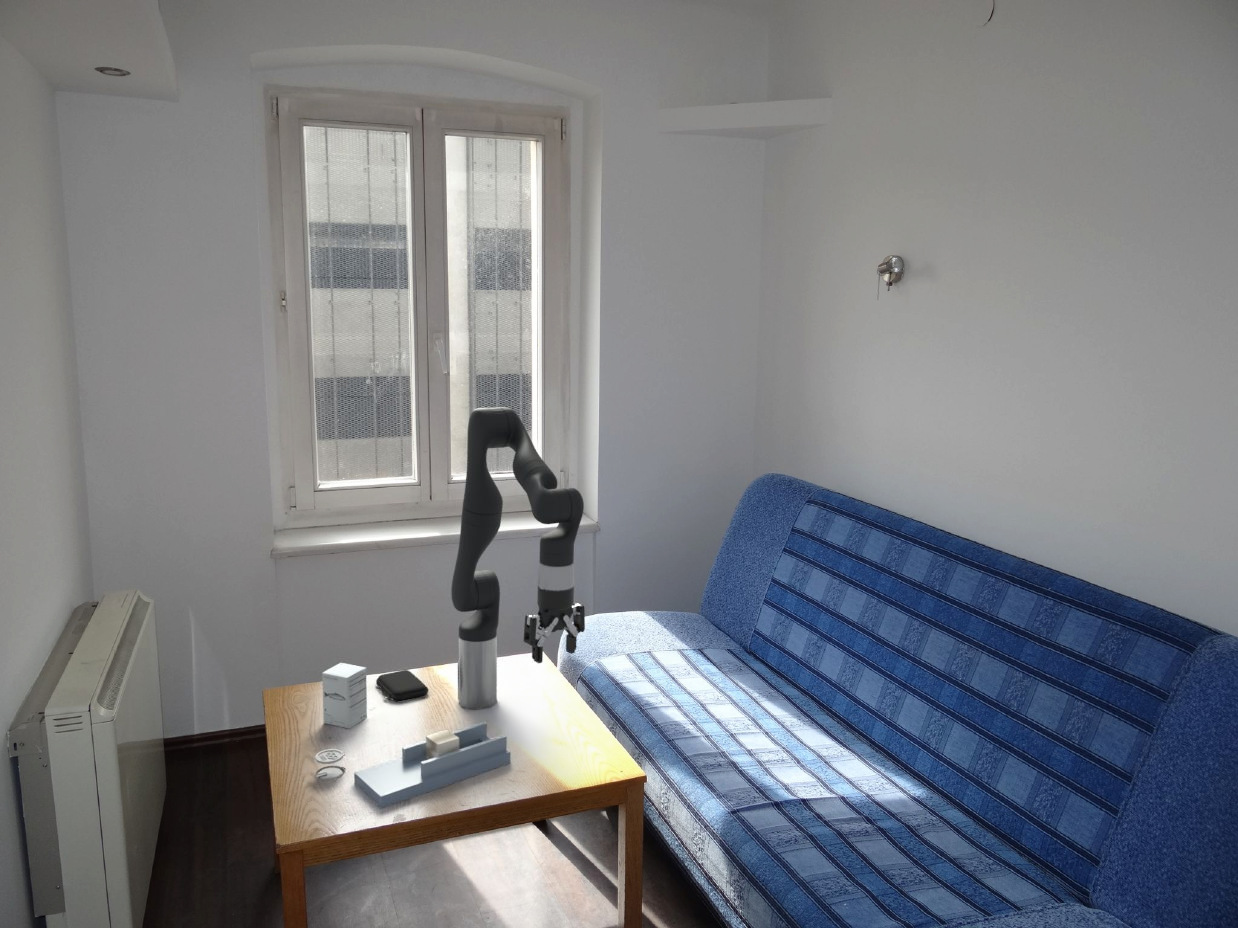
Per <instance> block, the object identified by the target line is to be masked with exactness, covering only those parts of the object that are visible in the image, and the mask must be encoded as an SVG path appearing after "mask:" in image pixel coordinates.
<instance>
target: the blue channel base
mask: <svg viewBox="0 0 1238 928" xmlns="http://www.w3.org/2000/svg"><path fill="white" fill-rule="evenodd" d="M487 728H488V727H487V722H485V721H483V722H479V723H477V724H473V725H470V726H466V727H463V728H461V729H457V730H454V731H450V732H451V733H453V734H454V735H456V736H457V737H458V738H459V750H456V751H453V752H450V753H447V754H444V755H441V756H438V757H435V758H432V759H429V760H428V759H427V758H426V739H425V740H422V741H419V742H416V743H413V744H408V745H406V746H402V748H401V753H402V755H401V756H402V757H397V758H395V759H392V760H389V761H386V762H383V763H380V764H377V765H374V766H373V765H372V766H369V767H368V768H364V769H361V770H358V771H355V772H353V775H354V776H353V779H354V785H355V786H356V787H358V788H359V790H360V791H362V792H363V793H364V794H365V795H366V796H367V797H368V798H369V799H370V800H372V801H373V802H374V804H376V805H377V807H379V808H380V809H383V808H386V807H390V806H392V805H395V804H398V803H401V802H404V801H406V800H409V799H411V798H415V797H418V796H420V795H423V794H427V793H429V792H431V791H434V790H437V789H440V788H444V787H446V786H449V785H451V784H455V783H457V782H460V781H463V780H465V779H469V778H471V777H474V776H478V775H481V774H482V773H486V772H489V771H491V770H495V769H497V768H500V767H503V766H505V765H509V764H511V751H509V750H508V749H507V746H508V745H507V743H508V742H507V740H508V739H507V738H508V737H507V736H506V734H502V735H499V736H496V737H493V738H490V737H488V735H487V733H488V732H487Z"/></svg>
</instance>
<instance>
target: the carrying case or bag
mask: <svg viewBox="0 0 1238 928" xmlns="http://www.w3.org/2000/svg"><path fill="white" fill-rule="evenodd" d="M375 682H376V685H377V686H378V687H379V688H380V689H381V690H382V692H383V697H385V698H387V699H389V700H392V701H394V702H396V703H401V702H405V701H410V700H415V699H420V698H424V697H425V696H426V695H427V694H428V693H429V687H428V686H427V685H425V683H424V682H423V681H421V680H420V678H418V677H417V676H416V675H415V674H414V673H413V672H412V671H410V670H407V669H405V670H404V669H403V670H399V671H393V672H389V673H385V674H380V675H379V676H378V678H376V681H375Z"/></svg>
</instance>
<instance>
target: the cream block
mask: <svg viewBox="0 0 1238 928" xmlns="http://www.w3.org/2000/svg"><path fill="white" fill-rule="evenodd" d="M451 732H452V731H450V730H448V729H445V730H441V731H437V732H434V733H432V734H428V735H426V736H425V740H426V758H427V759H428V760H429V759H432V758H435V757H438V756H441V755H444V754H447V753H450V752H453V751H456V750H459V738H458V737H457V736H456V735H454V734H453V733H451Z"/></svg>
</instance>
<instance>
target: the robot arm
mask: <svg viewBox="0 0 1238 928" xmlns="http://www.w3.org/2000/svg"><path fill="white" fill-rule="evenodd" d="M526 429H527V428H526V427H525V425H524V423H523V421H522V420H521V418H520V416H519V415H518V413H517V412H516V410H514V409H513V408H511V407H505V406H500V407H499V406H498V407H479V408H475V409H473V410H472V411H471V413H470V415H469V418H468V425H467V443H466V445H467V447H466V448H467V449H466V450H467V451H466V452H467V455H466V456H467V457H466V460H467V461H466V476H465V484H464V493H463V502H462V509H461V516H460V517H461V519H460V520H461V521H460V534H459V542H458V543H459V544H458V551H457V555H456V560H455V566H454V571H453V575H452V581H451V590H450V591H451V592H450V594H451V602H452V604H453V607H454V609H455V610H456V611H458V612H460V613H468V612H473V611H474V613H472V615H471V616H469V617H468V618H467V619H465V620H463V621H462V622H461V623H460V624H459V626H458V662H457V699H458V702H459V705H460V706H461V707H463V708H465V709H469V710H483V709H487V708H491V707H492V706H494V705H496V704H497V702H498V699H497V698H498V697H497V696H498V695H497V693H498V690H497V688H498V687H497V686H498V684H497V683H498V681H497V680H498V677H497V676H498V675H497V673H498V671H497V670H498V669H497V667H498V665H497V664H498V662H497V661H498V657H497V656H498V655H497V654H498V652H497V651H498V649H497V648H498V646H497V643H498V641H497V640H498V638H497V637H498V636H497V635H498V633H497V631H498V628H499V619H500V618H499V617H500V602H501V601H500V598H501V590H500V589H501V586H500V582H499V581H500V580H499V578H498V576H497V574H496V573H495V572H494V571H493V570H490V569H482V570H476V569H477V566H478V565H477V564H478V563H479V560H480V559H481V557H482V555H483V554H484V553H485V551H486V550H487V548H488V547H490V545H491V543H492V541H493V540H494V539H495V537H496V535H497V534H498V532H499V530H500V527H501V521H502V514H503V505H504V504H503V503H504V502H503V501H504V499H503V497H502V494H501V491H500V490H499V487H498V486H497V484H496V482H495V480H494V479H493V478H492V475H491V473H490V471H489V468H488V462H487V455H488V450H489V449H498V448H499V449H500V448H501V449H502V448H510V449H512V450H513V452H514V456H513V460H512V473H513V475H514V477H515V479H516V481H517V482H518V484H519V486H520V487H521V488H522V489H523V491H524V492H525V494H526V495H527V499H528V502H529V505H530V509H531V513H532V516H533V518H534V519H535V520H536V521H537V522H539V523H541V524H543V525H553V524H554V525H555V524H557V526H556V527H555V528H554V529H553V530H551V531H549V532H547V533H545V534H543V535H542V536H541V537H540V540H539V561H538V563H539V564H538V571H537V606H538V612H537V614H532V615H531V614H529V613H527V614H526V615H525V617H524V625H523V626H524V628H523V629H524V630H523V642H524V643H526V644H527V645H530V646H531V658H532V660H533V661H534V662H535V663H537V664H541V663H543V660H544V659H543V656H544V655H543V652H544V651H543V650H544V647H543V644H544V642H545V640H546V639H547V638H548V637H550V635H551V633H555V632H557V631H562V630H565V632H566V633H567V634H566V635H565V652H566V653H569V654H571V655H572V654H575V651H576V650H577V641H578V639H577V637H578V635H579V634H580V633H584V632H585V630H586V620H585V619H586V618H585V611H586V610H585V606H584V605H583V604H581V603H578V602H575V599H574V597H575V596H574V595H575V567H574V560H575V559H574V554H575V553H574V551H575V543H576V538H577V535H578V531H579V527H580V525H581V522H582V518H583V514H584V508H585V507H584V506H585V504H584V499H583V496H582V494H581V492H580V491H579V490H578V489H577V488H575V487H569V486H568V487H560V488H559V487H558V478H557V476H556V475H555V473H554V472H553V470H552V469H550V467H549V465H548V464H547V463H546V462H545V461H544V460H543V459H542V457H541V456H540V454H539V453H538V451H537V449H536V447H535V445H534V443H533V441H532V439H531V437H530V436H529V433H528V431H527V430H526ZM557 487H558V488H557ZM571 617H572V619H573V621H571ZM543 629H544V631H543Z"/></svg>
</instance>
